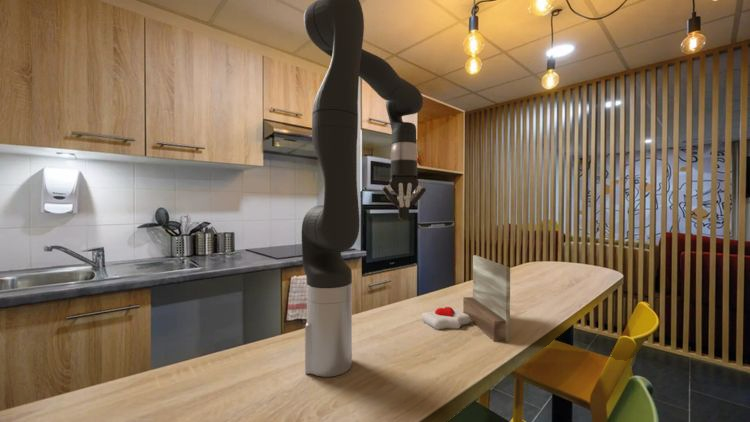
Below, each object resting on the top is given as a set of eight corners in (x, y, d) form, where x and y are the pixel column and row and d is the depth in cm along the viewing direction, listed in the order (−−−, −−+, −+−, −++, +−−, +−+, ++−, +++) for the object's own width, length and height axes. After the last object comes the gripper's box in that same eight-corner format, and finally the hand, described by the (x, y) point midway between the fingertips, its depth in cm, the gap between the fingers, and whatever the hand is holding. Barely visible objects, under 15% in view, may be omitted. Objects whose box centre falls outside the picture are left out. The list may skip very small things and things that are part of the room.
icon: (440, 318, 81) (419, 306, 90) (440, 334, 81) (419, 321, 90) (477, 311, 86) (454, 301, 95) (476, 327, 86) (454, 315, 95)
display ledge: (494, 341, 76) (494, 268, 76) (463, 313, 96) (463, 255, 96) (509, 340, 77) (510, 267, 76) (475, 313, 97) (476, 255, 96)
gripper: (382, 157, 85) (382, 221, 86) (429, 158, 87) (429, 221, 87) (379, 161, 93) (379, 219, 93) (423, 162, 94) (422, 219, 94)
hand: (403, 220), depth 90 cm, fingers closed
